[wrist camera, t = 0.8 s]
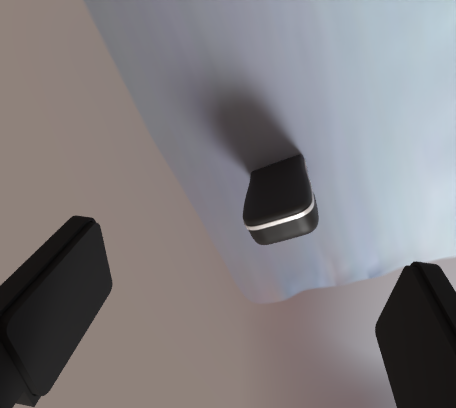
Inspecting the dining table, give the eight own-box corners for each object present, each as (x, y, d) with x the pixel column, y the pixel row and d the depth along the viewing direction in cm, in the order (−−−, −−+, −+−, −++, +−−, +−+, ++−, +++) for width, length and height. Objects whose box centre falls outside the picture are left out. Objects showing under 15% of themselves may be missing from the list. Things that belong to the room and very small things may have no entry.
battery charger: (260, 196, 39) (254, 255, 29) (248, 171, 37) (237, 225, 28) (313, 179, 37) (326, 237, 27) (303, 151, 35) (313, 202, 25)
